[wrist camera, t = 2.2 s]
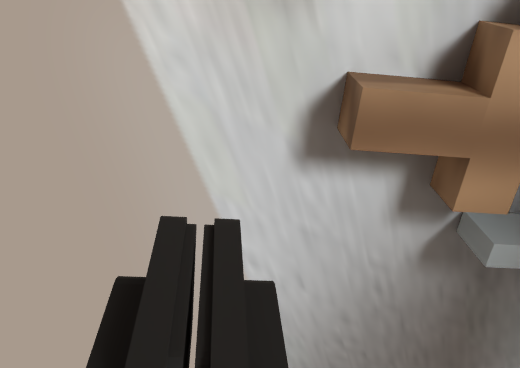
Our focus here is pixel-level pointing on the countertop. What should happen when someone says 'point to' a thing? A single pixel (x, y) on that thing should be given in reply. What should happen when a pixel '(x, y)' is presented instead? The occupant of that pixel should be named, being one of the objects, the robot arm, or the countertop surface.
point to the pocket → (492, 238)
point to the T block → (449, 121)
